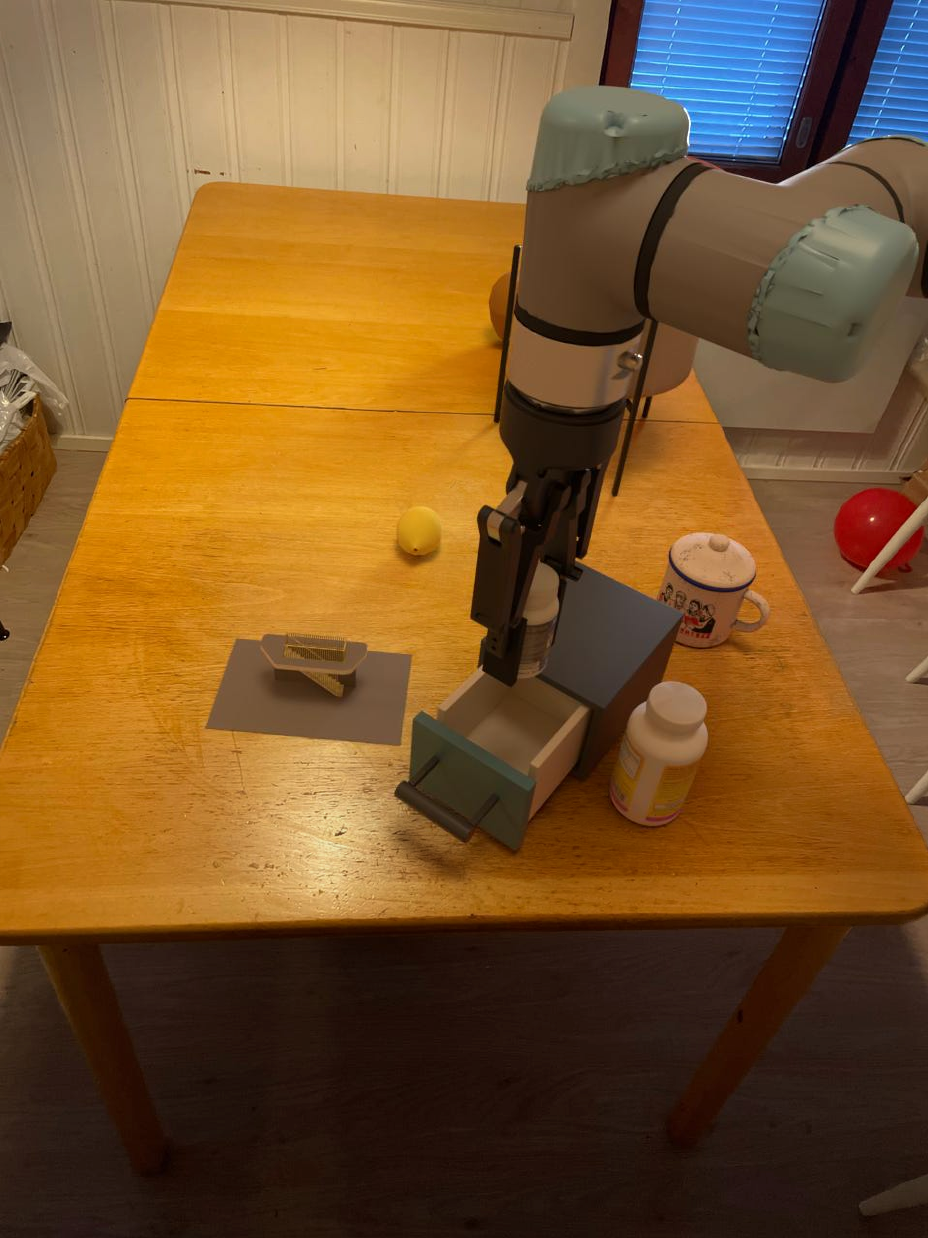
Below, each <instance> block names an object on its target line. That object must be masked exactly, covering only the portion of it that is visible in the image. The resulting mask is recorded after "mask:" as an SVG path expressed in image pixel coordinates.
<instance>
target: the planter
mask: <svg viewBox="0 0 928 1238" xmlns="http://www.w3.org/2000/svg"><path fill="white" fill-rule="evenodd" d="M687 158H688V159H690V160H694V161H697V162H700V163H702V164H703V165H705V166H709V167H713V168H715V169H717V170H719V171H723V172H726V171H725V170H724V169H722V168H720V167H718V166H716V165H714V164H712V163H710V162H707V161H705V160H702V159H699V158H697V157H694V156H690V155H687ZM521 252H522V246H521V245H518V244H515V245H514V246H513V251H512V260H511V269H510V272H511V276H510V285H509V294H508V302H507V311H506V319H505V328H504V337H503V342H502V347H501V355H500V363H499V372H498V381H497V390H496V397H495V398H496V399H495V408H494V415H493V422H494V423H499V424H500V416H501V408H502V400H503V392H504V385H505V382H506V375H507V374H506V372H505V370H506V363H507V356H508V349H509V342H510V333H511V325H512V317H513V308H514V300H515V292H516V284H517V276H518V270H519V268H520V267H519V266H520V260H521V259H520V258H521ZM699 340H700V338H699V337H696V336H694V335H691V334H689V333H686V332H684V331H681V330H679V329H676V328H674V327H671V326H669V325H666V324H664V323H661V322H655V321H653V320H650V319H648V318H646V321H645V326H644V330H643V331H642V335H641V339H640V343H639V348H638V352H637V355H639V356H641V357H642V360H643V361H642V366H641V368H640V370H638V371H637V372H633V374H632V379H631V383H630V387H629V390H628V392H627V393H626V395H625V398H626V409H625V410H627V412H628V413H629V414H628V419H627V424H626V427H625V432H624V437H623V441H622V445H621V449H620V453H619V454H620V455H619V458H618V462H617V465H616V471H615V475H614V479H613V483H612V488H611V495H612V496H613V497H617V496H619V491H620V486H621V483H622V478H623V475H624V470H625V466H626V463H627V457H628V453H629V450H630V445H631V440H632V436H633V433H634V432H633V431H634V429H635V424H636V419H637V414H638V411H639V406H640V402H641V399H644V398H645V399H644V403H643V408H642V412H641V418H642V419H647V418H648V416H649V412H650V409H651V404H652V401H653V397H655V396H657V395H661V394H665V393H668V392H670V391H672V390H674V389H677V388H678V387H679V386H681V385H682V384H683V383H685V382H686V380H687V379H688V378H689V376H690V374H691V372H692V369H693V365H694V362H695V358H696V353H697V347H698V344H699ZM631 400H632V401H631Z"/></svg>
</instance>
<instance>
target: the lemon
mask: <svg viewBox="0 0 928 1238" xmlns="http://www.w3.org/2000/svg"><path fill="white" fill-rule="evenodd" d="M395 533H396V534H395V535H396V540H397V541H398V545H399V546H400V548H401V549H402V550H403V551H404V552H405V553H408V554H411V555H413V556H424V555H427V554H429V553H431V552H433V551H435V549H436V548H437V547H438V546H439V545H440V543H441V542H442V538H443V534H444V527H443V523H442V520H441V518H440V516H439V515H438V514H437V512H436V511H435V510H433V509H432V508H430V507H428V506H424V505H422V506H421V505H417V506H412V507H408V509H406V510H405V511H404V512H403V513H402V514H401V516H400V518H399V519H398V521H397V523H396V532H395Z"/></svg>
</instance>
